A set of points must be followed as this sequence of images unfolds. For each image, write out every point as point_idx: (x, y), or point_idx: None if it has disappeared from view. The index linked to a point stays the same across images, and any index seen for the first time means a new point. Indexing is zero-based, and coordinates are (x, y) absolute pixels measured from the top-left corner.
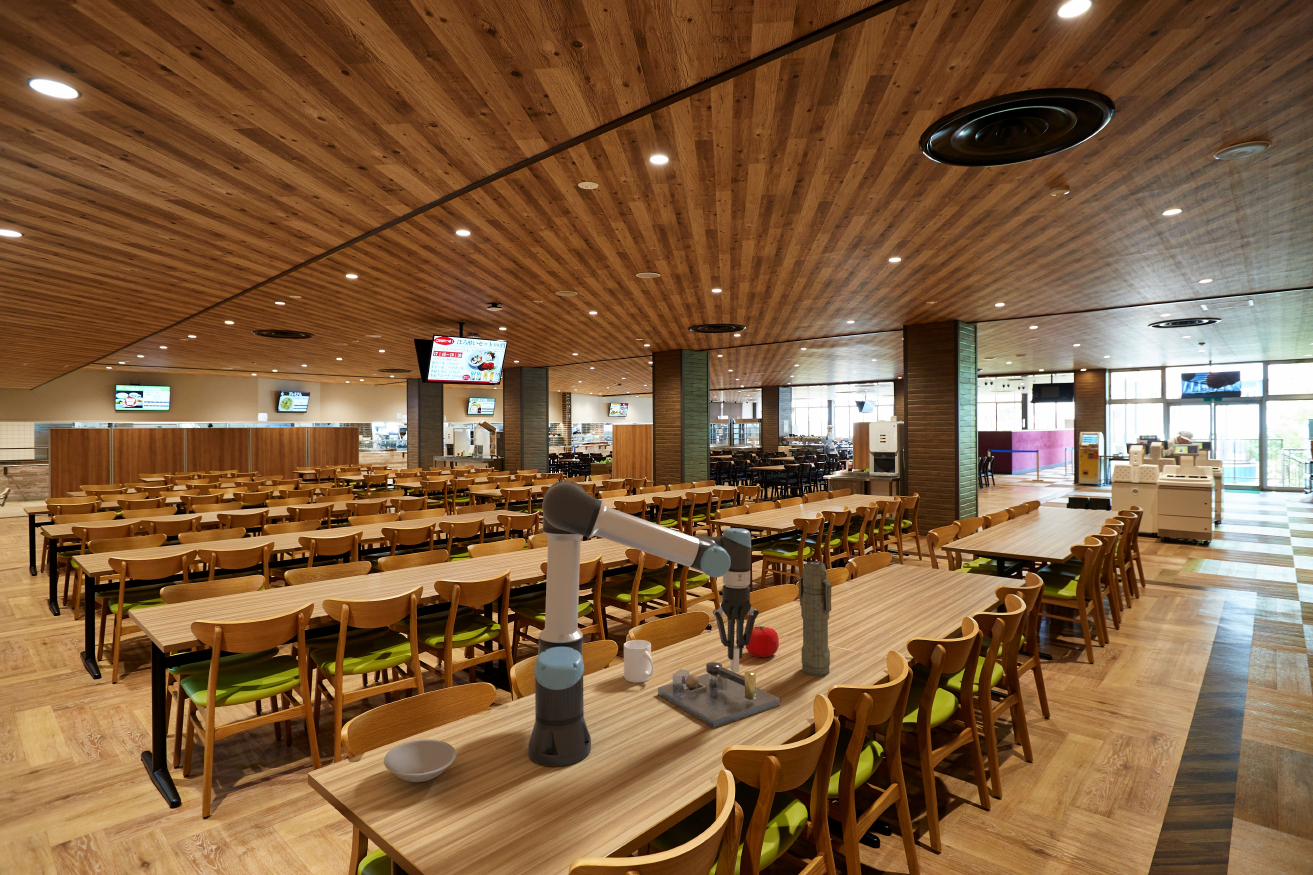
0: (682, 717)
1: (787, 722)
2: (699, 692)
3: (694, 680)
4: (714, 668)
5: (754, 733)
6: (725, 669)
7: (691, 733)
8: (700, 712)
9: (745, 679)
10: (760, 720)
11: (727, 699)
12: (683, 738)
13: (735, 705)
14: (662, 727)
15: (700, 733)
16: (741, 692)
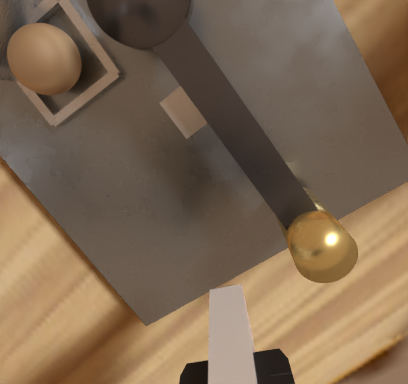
0: (55, 244)
1: (383, 288)
2: (94, 107)
3: (50, 89)
4: (138, 46)
5: (263, 342)
6: (204, 66)
7: (90, 333)
8: (104, 274)
9: (289, 249)
10: (300, 273)
11: (205, 177)
12: (71, 354)
13: (229, 229)
14: (6, 299)
15: (114, 334)
16: (274, 111)
